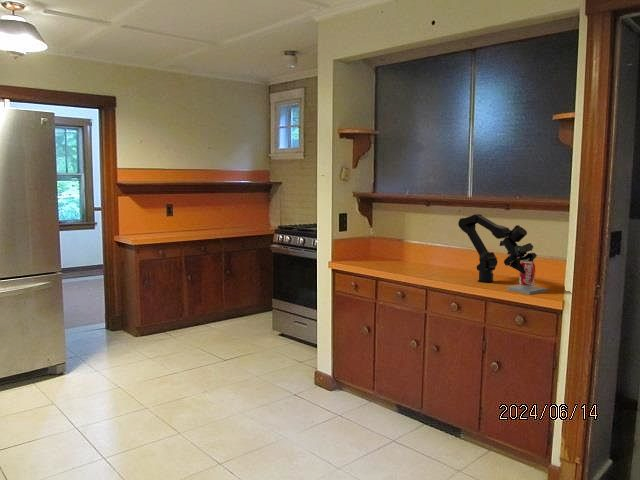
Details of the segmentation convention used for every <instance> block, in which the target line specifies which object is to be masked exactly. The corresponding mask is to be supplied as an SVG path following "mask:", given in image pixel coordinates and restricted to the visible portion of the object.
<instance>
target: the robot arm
mask: <svg viewBox="0 0 640 480" xmlns="http://www.w3.org/2000/svg"><path fill="white" fill-rule="evenodd" d="M477 224H478V225H480V226H481V227H482V228H485V229H487V230H488V231H489V232H490V233H491V234H492V236H493V237H495V239H497V240H500V241H499V242H500V243H499V244H498V245H499V247H505V249H506V251H507V253H506V254H507V255H508V256H506V258H505V259H504V260H503V264H504V265H505V266H506V267H511V268H513V269H514V270H516V271H518V272H519V273H520V272H521V273H523V274H525V273H526V272H525V270H524V268H523V267H522V265H521V263H522V261H533V262H534V260H535V259H536V258H537V257H538V255H537V254H536V253H535V252H532V251H533V249H534V245H533V244H532V243H530V242H529V243H526V244H523V245H519V244H517V243H520V242H521V241H523V239H524V238H525V237H526V236H527V235H528V232H527V230H526V229H525V228H523V227H522V226H520V225H519V224H517V225H515V226H514V227H513V228H512V229H510V227H508V226H504V225H500V224H497V223H495V222H493V221H491V220H490V219H488V218H486V217H485V216H483V214H480V213H475V214H473V215H469V216H467V217H461V218H459V220H458V223H457V226H458V227H459V228H460V230H461V231H462V232H463V233H465V234H467V236H468V239H469V240H470V242H471V243H472V245H473V246H474V248H475V251H476V252H477V253H478V256H479V257H478V258H479V263H478V265H477V266H476V270H477V271H478V280H477V282H480V283H487V284H489V283H493V282H495V281H494V273H493V271H495V269H496V267H497V266H498V260H497V259H498V257H497V256H496V255H495V252H493V251H492V252H490V251H489V250H488V249H487V247H486V246H485V244H484V242H483V240H482V239H481V237H480V235H479V233H478V232H477V230H476V225H477ZM501 239H503V240H501ZM530 251H531V252H530Z"/></svg>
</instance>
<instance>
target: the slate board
mask: <svg viewBox="0 0 640 480" xmlns="http://www.w3.org/2000/svg"><path fill="white" fill-rule="evenodd" d="M506 288H507V290H508V291H512V292H516V293H521V294H524V295H525V294H526V295H534V294H539V293H546V292H548V288H546V287H543V286H542V287H541V286H536V285H532V286H530V287H527V286H522V285H521V284H516V285H508V286H507V287H506Z"/></svg>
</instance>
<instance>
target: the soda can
mask: <svg viewBox="0 0 640 480" xmlns="http://www.w3.org/2000/svg"><path fill="white" fill-rule="evenodd" d="M520 263H521V265H522V267H523V268H524V270H525V272H526V273H525V274H523V273H521V272H520V271H519V276H518V277H519V279H518V283H519V284H518V285H522V286H527V287H530V286H535V279H536V265H535V262H534V260H533V261H521V262H520Z"/></svg>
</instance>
